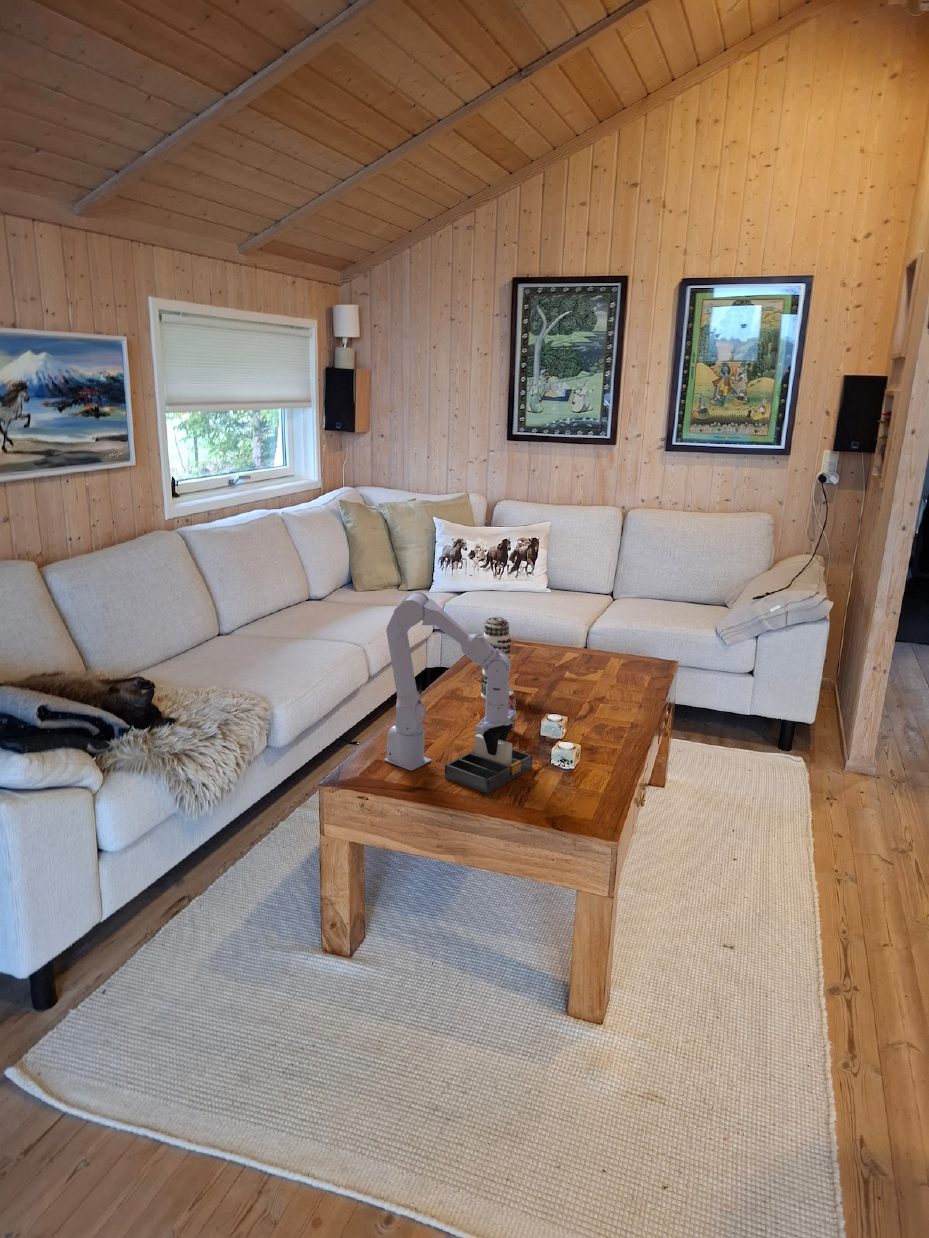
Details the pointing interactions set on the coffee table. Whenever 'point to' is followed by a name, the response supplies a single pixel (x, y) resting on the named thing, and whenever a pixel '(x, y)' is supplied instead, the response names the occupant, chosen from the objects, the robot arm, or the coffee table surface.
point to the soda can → (512, 707)
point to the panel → (501, 755)
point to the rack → (486, 770)
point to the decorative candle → (495, 641)
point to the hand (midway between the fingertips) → (495, 752)
